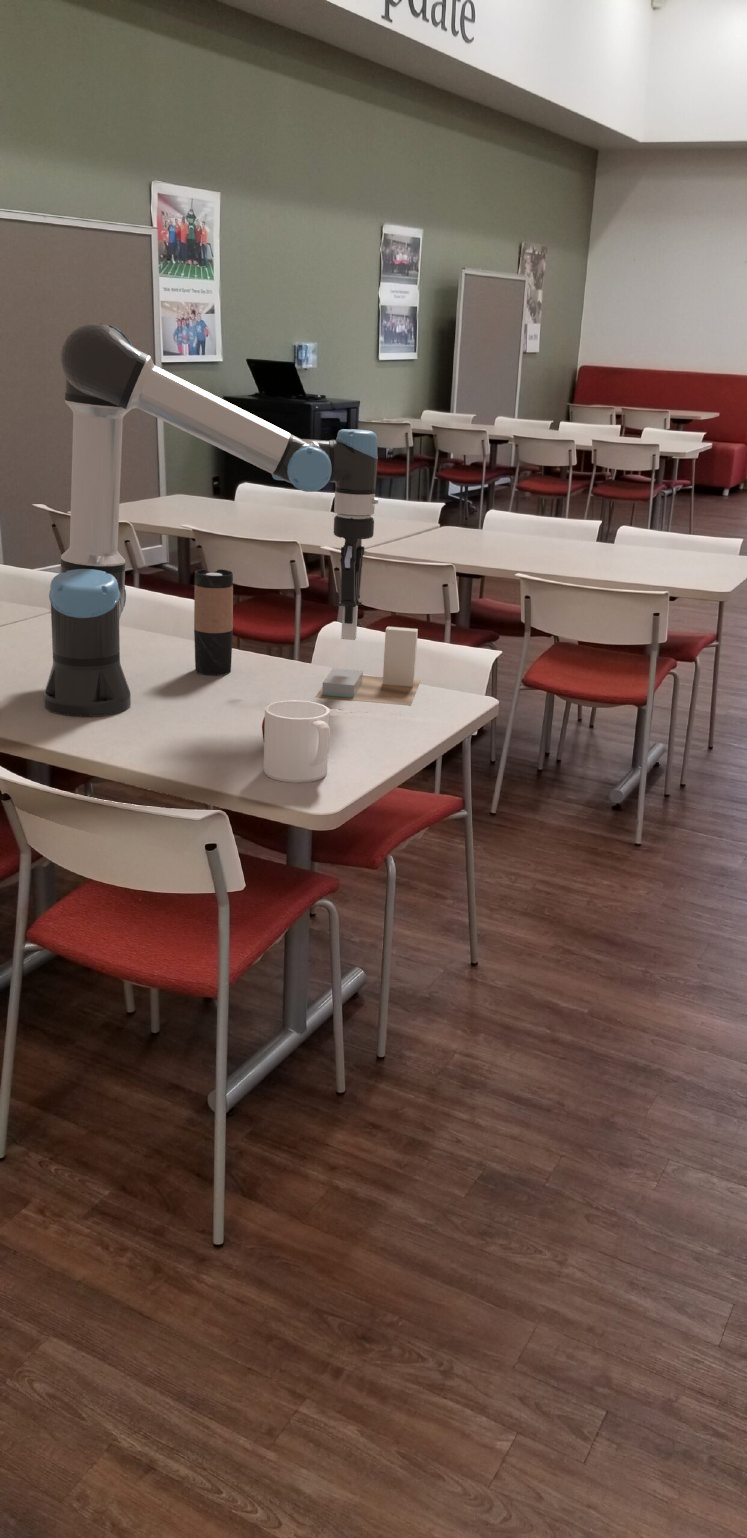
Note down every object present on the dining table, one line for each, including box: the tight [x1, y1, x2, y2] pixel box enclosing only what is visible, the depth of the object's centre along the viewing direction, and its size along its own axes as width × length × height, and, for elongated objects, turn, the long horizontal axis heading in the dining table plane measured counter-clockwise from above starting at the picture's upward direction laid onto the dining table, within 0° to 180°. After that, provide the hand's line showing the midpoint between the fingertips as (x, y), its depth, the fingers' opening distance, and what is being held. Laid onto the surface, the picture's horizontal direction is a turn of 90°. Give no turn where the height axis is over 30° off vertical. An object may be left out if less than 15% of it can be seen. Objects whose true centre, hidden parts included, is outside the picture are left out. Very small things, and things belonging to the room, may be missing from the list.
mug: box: [263, 699, 331, 784], centre depth 185 cm, size 13×10×10 cm
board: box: [315, 674, 421, 707], centre depth 231 cm, size 18×18×1 cm
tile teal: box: [321, 667, 364, 698], centre depth 229 cm, size 2×6×11 cm
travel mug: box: [193, 568, 234, 676], centre depth 238 cm, size 8×8×20 cm
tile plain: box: [382, 626, 419, 687], centre depth 233 cm, size 2×6×11 cm, turn 82°
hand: (348, 638), depth 231 cm, fingers closed
